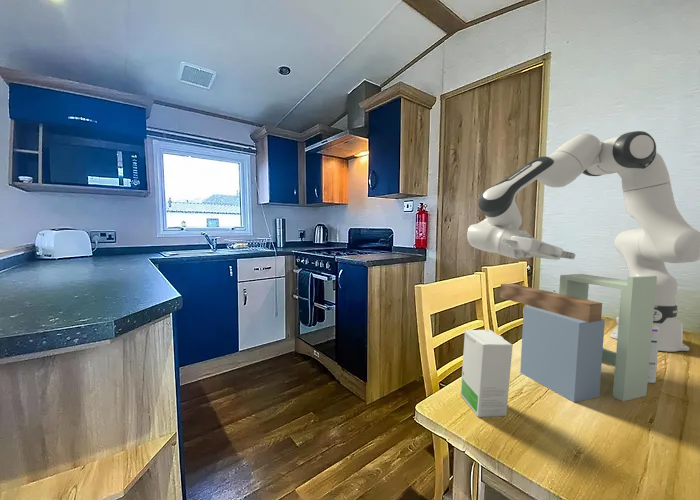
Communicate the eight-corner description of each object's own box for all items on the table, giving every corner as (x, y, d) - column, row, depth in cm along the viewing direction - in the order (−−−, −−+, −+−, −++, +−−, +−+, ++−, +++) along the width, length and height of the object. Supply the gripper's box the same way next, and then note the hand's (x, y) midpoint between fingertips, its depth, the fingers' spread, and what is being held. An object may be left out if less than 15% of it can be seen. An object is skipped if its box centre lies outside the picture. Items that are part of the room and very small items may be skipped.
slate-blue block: (520, 372, 79) (523, 306, 77) (542, 368, 81) (546, 304, 80) (573, 402, 65) (579, 322, 64) (599, 396, 68) (604, 319, 66)
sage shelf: (554, 368, 81) (560, 267, 79) (575, 364, 83) (582, 266, 81) (623, 401, 66) (633, 277, 64) (646, 395, 68) (656, 275, 66)
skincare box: (459, 395, 68) (462, 329, 67) (487, 394, 68) (490, 328, 67) (478, 418, 59) (482, 343, 58) (509, 417, 60) (513, 343, 59)
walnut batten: (500, 297, 87) (500, 284, 87) (510, 296, 88) (511, 283, 88) (588, 322, 64) (590, 304, 64) (601, 320, 66) (602, 303, 65)
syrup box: (656, 383, 74) (662, 327, 72) (629, 381, 75) (633, 325, 74) (639, 372, 79) (643, 320, 78) (613, 370, 80) (618, 318, 79)
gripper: (503, 228, 84) (557, 237, 73) (533, 238, 96) (583, 248, 85) (496, 249, 85) (549, 261, 74) (527, 257, 97) (577, 268, 86)
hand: (568, 254), depth 80 cm, fingers open, 8 cm apart
